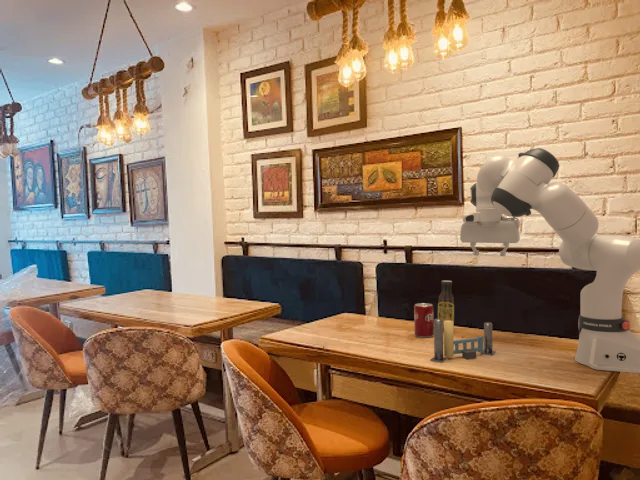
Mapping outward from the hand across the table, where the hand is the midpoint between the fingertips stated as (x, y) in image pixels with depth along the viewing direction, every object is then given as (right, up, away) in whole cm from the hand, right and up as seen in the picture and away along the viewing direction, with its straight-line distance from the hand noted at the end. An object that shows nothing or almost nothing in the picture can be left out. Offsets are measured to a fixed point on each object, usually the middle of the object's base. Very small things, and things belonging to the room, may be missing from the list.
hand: (489, 255), depth 183 cm
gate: (-14, -32, -16) cm, 38 cm away
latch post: (-23, -33, -19) cm, 44 cm away
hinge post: (-5, -32, -13) cm, 35 cm away
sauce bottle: (-10, -31, +20) cm, 38 cm away
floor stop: (-12, -32, -18) cm, 39 cm away
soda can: (-21, -31, +13) cm, 40 cm away
